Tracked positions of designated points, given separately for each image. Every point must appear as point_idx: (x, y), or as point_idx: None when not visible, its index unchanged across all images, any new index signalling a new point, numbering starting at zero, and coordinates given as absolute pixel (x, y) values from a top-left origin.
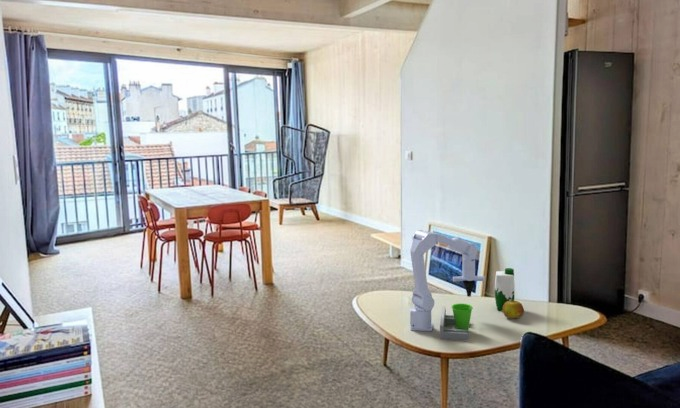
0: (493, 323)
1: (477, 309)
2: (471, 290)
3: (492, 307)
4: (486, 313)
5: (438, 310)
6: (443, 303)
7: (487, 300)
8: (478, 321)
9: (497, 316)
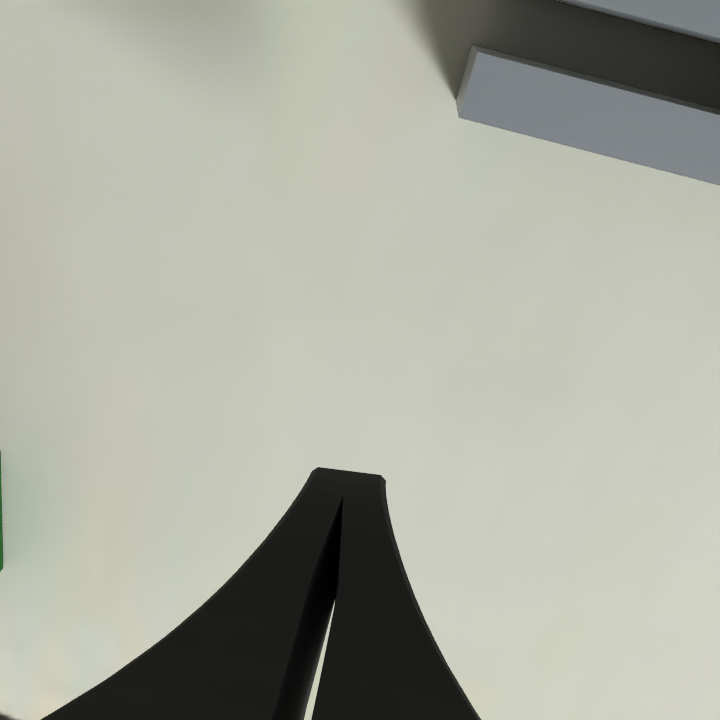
0: (69, 6)
1: (223, 512)
2: (258, 566)
3: (52, 537)
4: (134, 390)
5: (702, 553)
6: (554, 702)
7: (90, 688)
8: (285, 119)
9: (4, 278)
